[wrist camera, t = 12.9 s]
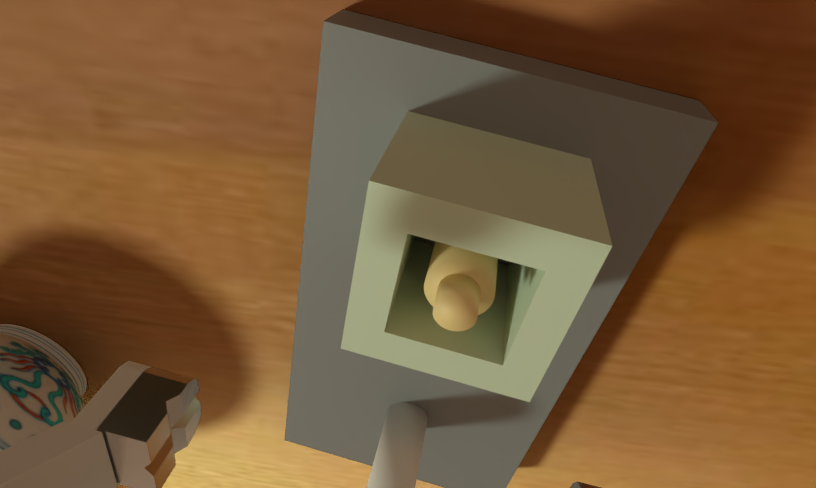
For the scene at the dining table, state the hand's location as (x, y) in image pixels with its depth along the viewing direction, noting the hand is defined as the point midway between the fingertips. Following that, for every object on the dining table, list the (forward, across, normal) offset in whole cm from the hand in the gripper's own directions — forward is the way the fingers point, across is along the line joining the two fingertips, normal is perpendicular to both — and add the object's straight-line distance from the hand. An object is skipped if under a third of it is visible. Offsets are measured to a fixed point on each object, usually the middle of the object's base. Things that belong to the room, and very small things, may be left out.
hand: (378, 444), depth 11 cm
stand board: (+11, -1, +5) cm, 13 cm away
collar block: (+9, -1, -1) cm, 9 cm away
